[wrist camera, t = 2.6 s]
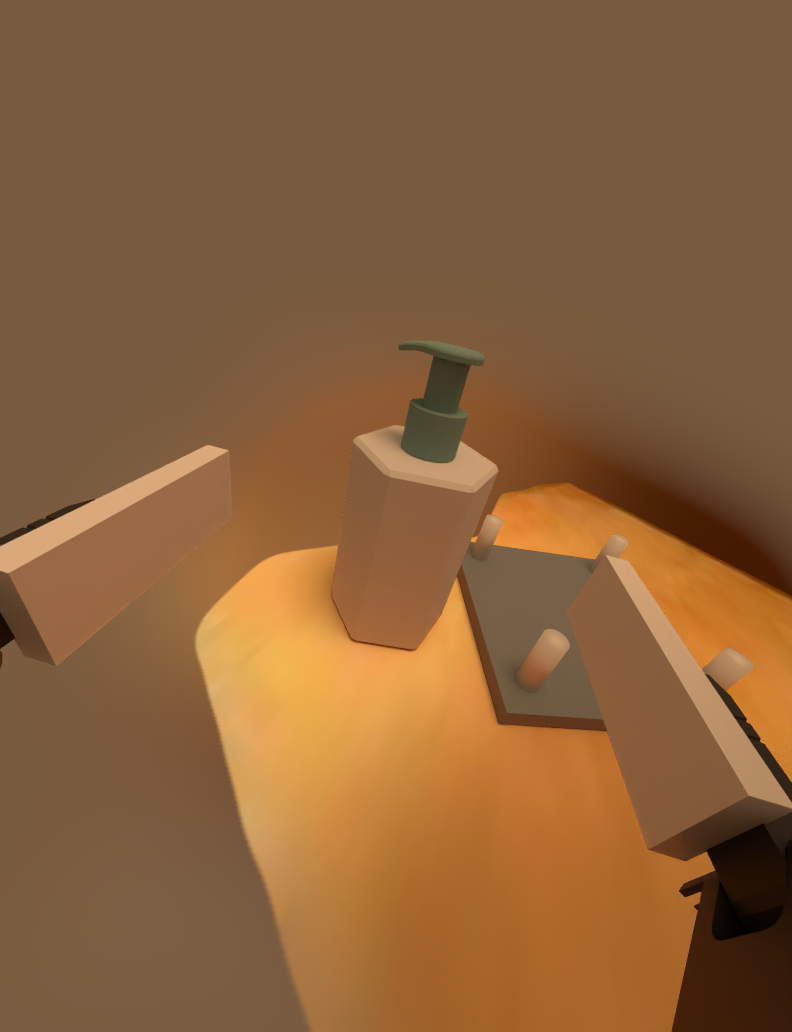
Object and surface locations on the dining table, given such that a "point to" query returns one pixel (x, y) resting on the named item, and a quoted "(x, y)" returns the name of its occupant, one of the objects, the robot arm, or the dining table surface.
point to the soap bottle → (411, 510)
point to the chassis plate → (542, 632)
